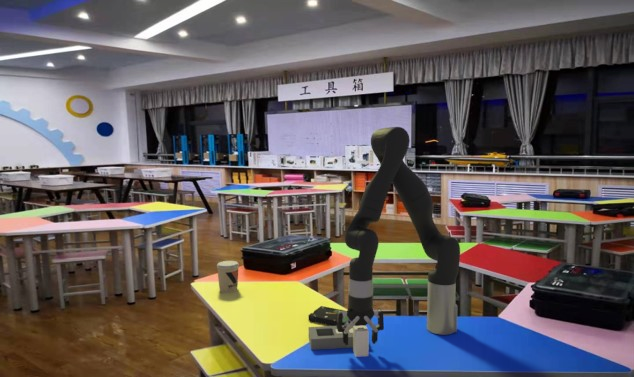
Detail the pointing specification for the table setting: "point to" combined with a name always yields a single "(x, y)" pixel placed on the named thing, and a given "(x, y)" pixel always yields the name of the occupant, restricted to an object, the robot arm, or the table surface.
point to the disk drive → (326, 316)
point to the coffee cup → (228, 276)
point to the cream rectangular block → (360, 341)
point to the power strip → (328, 338)
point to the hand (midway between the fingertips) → (359, 343)
